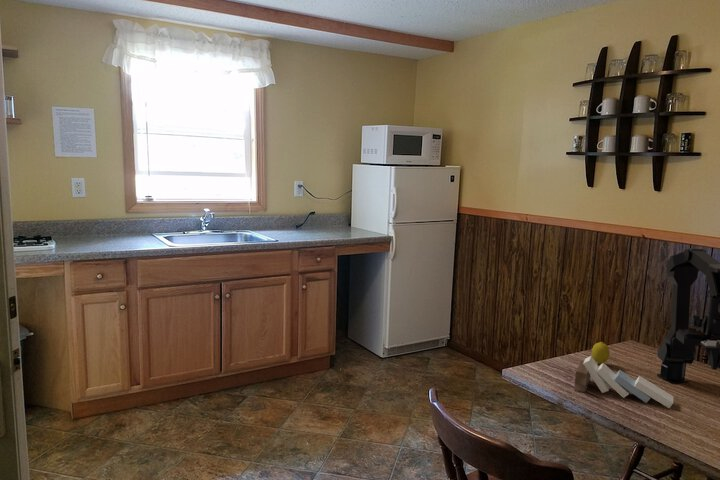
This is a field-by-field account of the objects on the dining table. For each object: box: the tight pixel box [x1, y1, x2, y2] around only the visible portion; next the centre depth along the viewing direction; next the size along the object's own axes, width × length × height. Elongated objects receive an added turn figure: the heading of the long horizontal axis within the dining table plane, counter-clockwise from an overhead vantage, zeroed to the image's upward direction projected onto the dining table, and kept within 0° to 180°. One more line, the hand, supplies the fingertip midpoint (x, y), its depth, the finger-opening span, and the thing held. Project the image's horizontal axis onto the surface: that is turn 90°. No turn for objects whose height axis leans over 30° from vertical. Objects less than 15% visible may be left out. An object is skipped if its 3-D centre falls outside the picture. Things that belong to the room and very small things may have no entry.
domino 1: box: [583, 355, 611, 394], centre depth 156 cm, size 2×5×10 cm
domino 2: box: [597, 363, 630, 399], centre depth 154 cm, size 2×5×10 cm
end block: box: [573, 360, 591, 393], centre depth 159 cm, size 3×10×6 cm, turn 148°
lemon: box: [591, 341, 611, 365], centre depth 176 cm, size 6×6×8 cm
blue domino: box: [614, 369, 652, 404], centre depth 152 cm, size 2×5×10 cm
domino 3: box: [634, 375, 674, 409], centre depth 149 cm, size 2×5×10 cm
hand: (713, 369), depth 140 cm, fingers closed
